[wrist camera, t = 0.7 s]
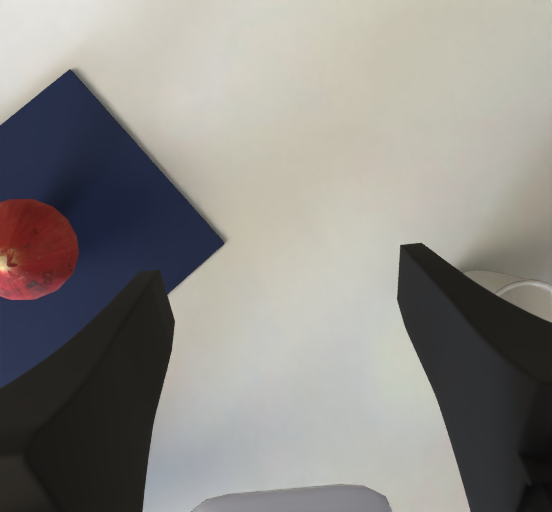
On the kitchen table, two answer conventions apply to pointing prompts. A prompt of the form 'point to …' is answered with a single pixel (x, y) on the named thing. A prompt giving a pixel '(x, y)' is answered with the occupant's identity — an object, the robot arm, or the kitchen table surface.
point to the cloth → (90, 216)
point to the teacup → (518, 291)
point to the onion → (34, 249)
